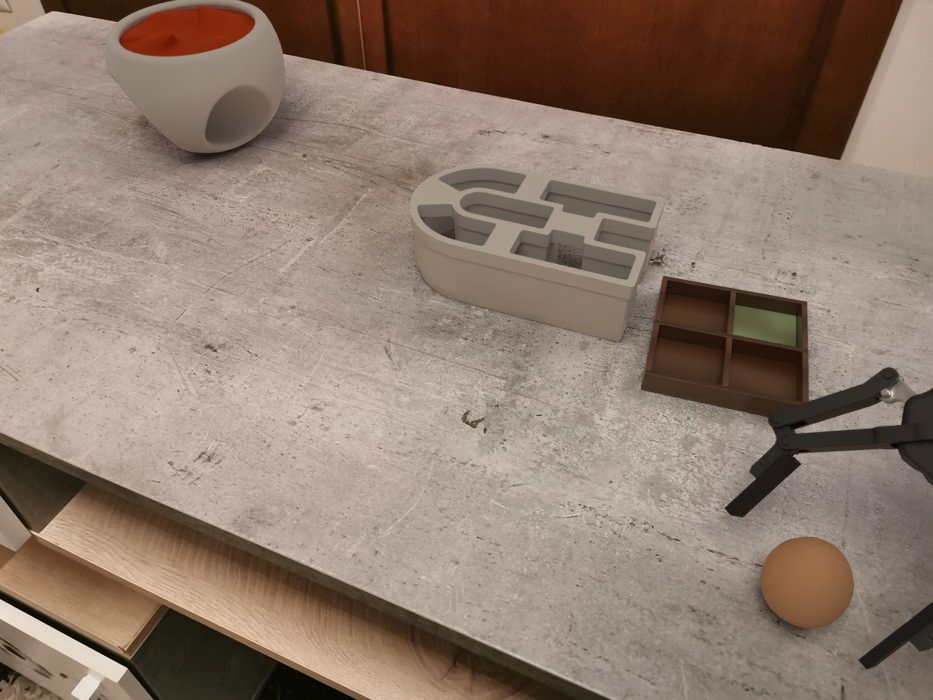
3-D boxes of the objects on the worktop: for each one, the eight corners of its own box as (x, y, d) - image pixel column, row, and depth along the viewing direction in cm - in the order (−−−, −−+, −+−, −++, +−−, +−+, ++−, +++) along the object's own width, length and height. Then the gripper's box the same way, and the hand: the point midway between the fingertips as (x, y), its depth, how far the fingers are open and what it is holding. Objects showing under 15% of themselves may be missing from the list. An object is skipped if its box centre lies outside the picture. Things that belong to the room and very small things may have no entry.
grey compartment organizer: (621, 347, 80) (633, 287, 73) (391, 287, 87) (384, 228, 81) (653, 257, 90) (666, 198, 84) (445, 210, 98) (443, 153, 91)
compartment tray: (800, 424, 72) (809, 407, 70) (640, 389, 75) (644, 373, 74) (800, 318, 82) (807, 301, 81) (659, 292, 86) (663, 275, 84)
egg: (741, 620, 58) (770, 571, 53) (759, 555, 62) (788, 503, 56) (824, 658, 56) (865, 612, 50) (838, 588, 60) (877, 538, 54)
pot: (315, 102, 119) (295, -12, 106) (270, 185, 103) (240, 61, 90) (175, 96, 121) (139, -17, 108) (109, 176, 105) (58, 54, 92)
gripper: (1229, 532, 44) (945, 733, 50) (890, 290, 59) (705, 467, 66) (1247, 523, 38) (926, 751, 45) (869, 259, 54) (669, 456, 60)
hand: (794, 582), depth 55 cm, fingers open, 13 cm apart
